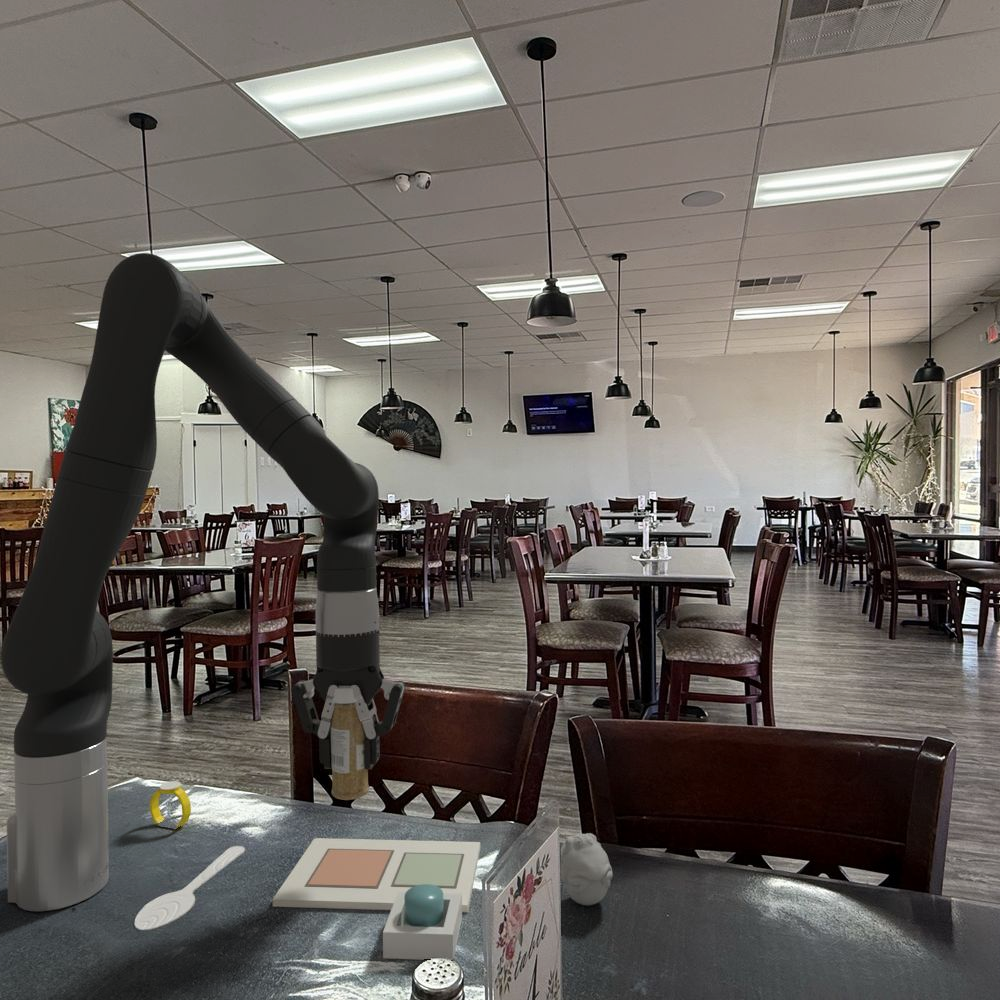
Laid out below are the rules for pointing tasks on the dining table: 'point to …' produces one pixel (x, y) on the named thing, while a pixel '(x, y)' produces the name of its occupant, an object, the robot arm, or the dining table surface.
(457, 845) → the picture board
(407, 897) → the button
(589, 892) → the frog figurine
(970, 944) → the dining table surface
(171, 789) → the watch
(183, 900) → the spoon
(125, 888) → the dining table surface
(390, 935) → the button housing
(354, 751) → the sprinkles bottle
